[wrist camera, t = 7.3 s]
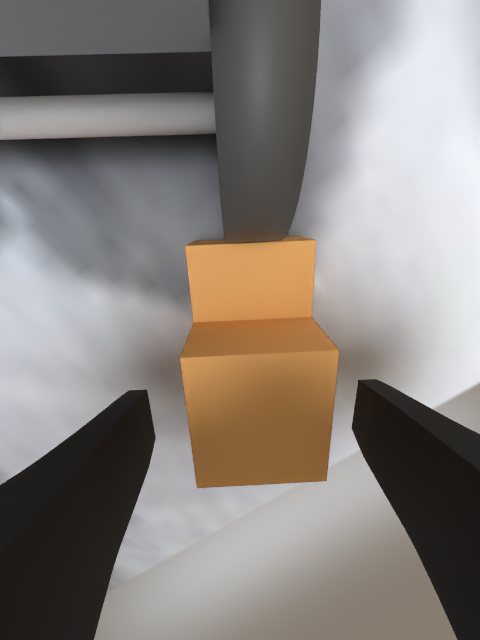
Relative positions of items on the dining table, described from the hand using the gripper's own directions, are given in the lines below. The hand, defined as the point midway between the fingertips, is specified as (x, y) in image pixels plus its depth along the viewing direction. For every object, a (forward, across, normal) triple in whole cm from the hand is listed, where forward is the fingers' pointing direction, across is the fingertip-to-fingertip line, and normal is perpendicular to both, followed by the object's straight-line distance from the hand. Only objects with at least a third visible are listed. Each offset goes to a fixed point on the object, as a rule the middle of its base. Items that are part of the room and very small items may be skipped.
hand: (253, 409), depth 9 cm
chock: (+3, 0, -2) cm, 4 cm away
